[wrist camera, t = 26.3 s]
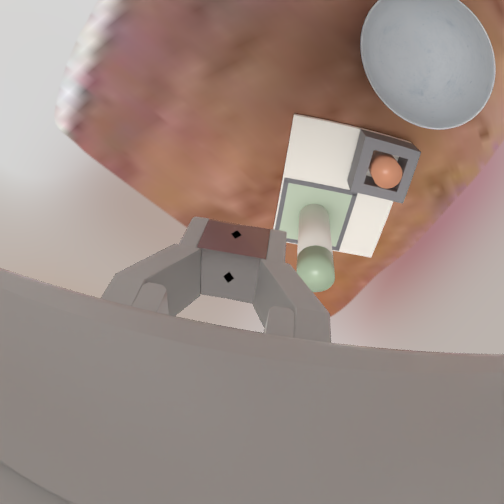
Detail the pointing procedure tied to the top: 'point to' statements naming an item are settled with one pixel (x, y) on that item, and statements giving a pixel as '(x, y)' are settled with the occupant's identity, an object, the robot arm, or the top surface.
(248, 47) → the top surface
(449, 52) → the chinaware
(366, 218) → the white board
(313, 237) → the marker
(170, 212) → the top surface
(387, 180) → the button
